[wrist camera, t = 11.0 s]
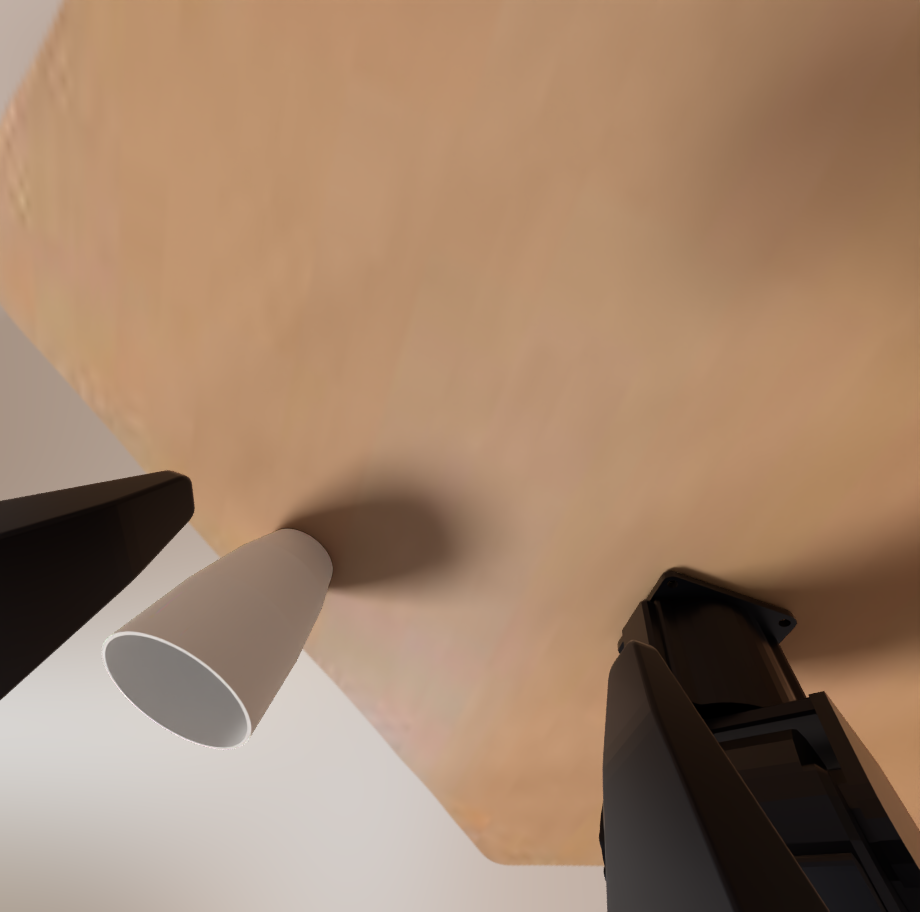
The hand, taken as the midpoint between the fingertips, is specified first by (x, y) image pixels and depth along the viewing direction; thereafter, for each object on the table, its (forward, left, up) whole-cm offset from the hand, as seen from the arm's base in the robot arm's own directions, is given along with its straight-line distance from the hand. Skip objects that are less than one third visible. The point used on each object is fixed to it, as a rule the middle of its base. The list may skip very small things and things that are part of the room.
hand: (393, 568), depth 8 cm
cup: (+10, +16, -13) cm, 23 cm away
